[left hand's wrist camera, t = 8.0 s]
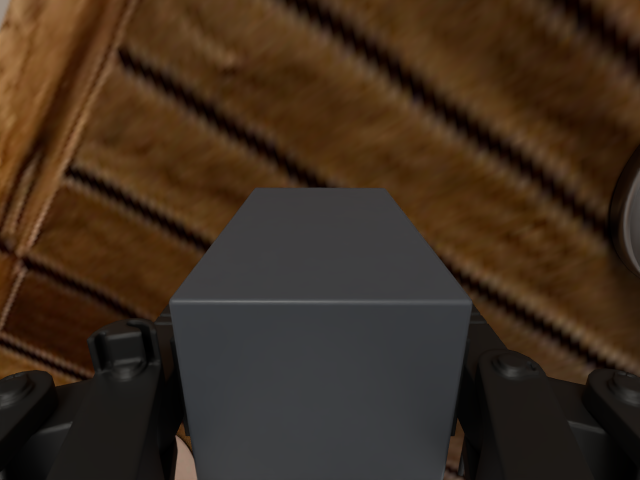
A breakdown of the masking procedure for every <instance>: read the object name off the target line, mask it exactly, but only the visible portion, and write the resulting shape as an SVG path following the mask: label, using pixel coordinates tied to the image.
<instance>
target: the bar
mask: <svg viewBox="0 0 640 480" xmlns="http://www.w3.org/2000/svg"><path fill="white" fill-rule="evenodd" d="M169 306H170V312H171V319H172V325H173V331H174V338H175V344H176V350H177V356H178V363H179V369H180V375H181V381H182V388H183V394H184V400H185V407H186V413H187V419H188V425H189V432H190V438H191V444H192V450H193V457H194V463H195V469H196V476H197V480H443V477H444V471H445V465H446V459H447V454H448V448H449V442H450V436H451V430H452V424H453V418H454V412H455V406H456V400H457V394H458V388H459V382H460V376H461V370H462V364H463V358H464V352H465V346H466V340H467V334H468V328H469V323H470V317H471V311H472V300H471V299H470V297H469V296H468V295H467V293H466V292H465V291H464V290H463V288H462V287H461V286H460V284H459V283H458V282H457V281H456V279H455V278H454V277H453V275H452V274H451V273H450V271H449V270H448V269H447V268H446V266H445V265H444V264H443V262H442V261H441V260H440V259H439V257H438V256H437V255H436V253H435V252H434V251H433V250H432V248H431V247H430V246H429V244H428V243H427V242H426V241H425V239H424V238H423V237H422V235H421V234H420V233H419V232H418V230H417V229H416V228H415V226H414V225H413V224H412V223H411V221H410V220H409V219H408V217H407V216H406V215H405V214H404V212H403V211H402V210H401V208H400V207H399V206H398V205H397V203H396V202H395V201H394V199H393V198H392V197H391V195H390V194H389V193H388V192H387V190H386V189H384V188H255V189H254V190H253V192H252V193H251V194H250V196H249V197H248V198H247V200H246V201H245V202H244V204H243V205H242V206H241V207H240V209H239V210H238V211H237V213H236V214H235V215H234V217H233V218H232V219H231V220H230V222H229V223H228V224H227V226H226V227H225V228H224V230H223V231H222V232H221V234H220V235H219V236H218V237H217V239H216V240H215V241H214V243H213V244H212V245H211V247H210V248H209V249H208V250H207V252H206V253H205V254H204V256H203V257H202V258H201V260H200V261H199V262H198V264H197V265H196V266H195V267H194V269H193V270H192V271H191V273H190V274H189V275H188V277H187V278H186V279H185V281H184V282H183V283H182V284H181V286H180V287H179V288H178V290H177V291H176V292H175V294H174V295H173V296H172V297H171V299H170V302H169Z"/></svg>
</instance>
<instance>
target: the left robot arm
mask: <svg viewBox="0 0 640 480" xmlns="http://www.w3.org/2000/svg"><path fill="white" fill-rule="evenodd" d="M610 230H611V236H612V240H613V244H614V247H615V249H616V252H617V254H618V256H619V257H620V259H621V261H622V262H623V263H624V264H625V266H626V267H627V268H628V269H629V270H630V271H631V272H632V273H633V274H635V275H636V276H637V277H639V278H640V145H639V146H638V147H637V149H636V150H635V152H634V153H633V155H632V156H631V158H630V159H629V161H628V163H627V165H626V166H625V168H624V170H623V172H622V174H621V176H620V179H619V181H618V184H617V186H616V189H615V192H614V196H613V200H612V206H611V213H610ZM87 343H88V347H89V351H90V354H91V358H92V362H93V366H94V370H95V375H94V377H93V378H92V379H89V380H85V381H80V382H76V383H71V384H66V385H61V386H57V387H55V384H54V381H53V378H52V376H51V375H50V374H49V373H47V372H46V371H39V370H33V371H25V372H20V373H16V374H12V375H9V376H7V377H5V378H3V379H1V380H0V480H175V472H176V464H177V455H178V447H177V441H176V433H177V431H178V429H179V426H180V424H181V422H182V419H183V422H184V428H185V434H186V436H190V432H189V425H188V419H187V413H186V407H185V400H184V394H183V388H182V381H181V375H180V369H179V363H178V356H177V350H176V344H175V338H174V331H173V325H172V319H171V312H170V306H169V304H168V305H167V306H166V308H165V309H164V310H163V312H162V313H161V314H160V317H158V318H157V320H156V321H155V322H154V323H153V322H152V321H150V320H147V319H142V318H130V319H125V320H120V321H116V322H113V323H111V324H108V325H106V326H103V327H102V328H100V329H98V330H97V331H95V332H94V333H93V334H92V335H91V336H90V337H89V338H88V339H87ZM457 418H458V419H459V422H460V424H461V426H462V428H463V431H464V433H465V435H464V441H463V446H462V452H461V457H460V463H459V469H458V475H461V476H463V472H464V471H465V479H466V480H640V378H639V377H637V376H636V375H633V374H631V373H628V372H627V373H626V372H624V371H620V370H613V369H605V368H604V369H598V370H594V371H593V372H591V373H590V374H589V376H588V379H587V382H586V385H582V384H577V383H572V382H568V381H563V380H558V379H554V378H550V377H547V376H546V374H545V372H544V371H543V369H542V368H541V367H540V366H539V364H537V363H536V362H535V361H533V360H532V359H531V358H529V357H527V356H525V355H523V354H521V353H518V352H516V351H512V350H508V349H507V348H506V346H505V345H504V344H503V342H502V341H501V340H500V339H499V337H498V336H497V335H496V333H495V332H494V331H493V329H492V328H491V327H490V325H489V324H487V322H486V320H485V319H484V318H483V316H482V315H480V312H479V311H478V310H477V308H476V307H475V306H474V305H473V303H472V311H471V317H470V323H469V328H468V334H467V340H466V346H465V352H464V358H463V364H462V370H461V376H460V382H459V388H458V394H457V400H456V406H455V412H454V418H453V424H452V430H451V436H455V430H456V424H457Z"/></svg>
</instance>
